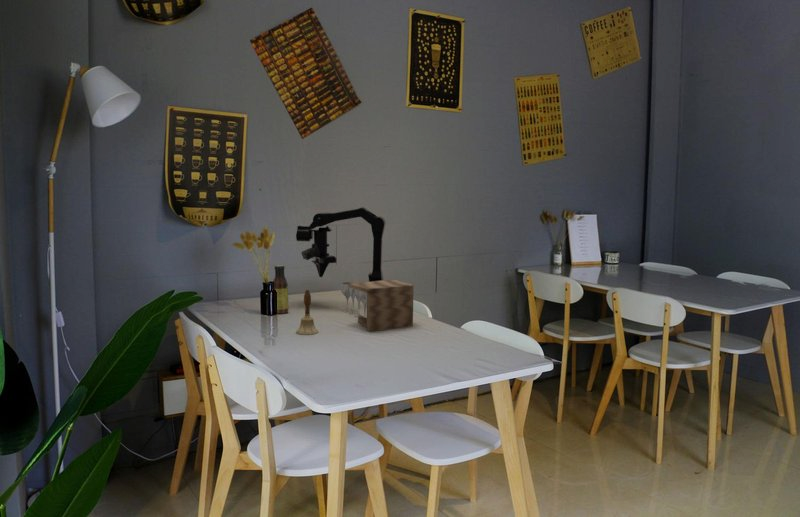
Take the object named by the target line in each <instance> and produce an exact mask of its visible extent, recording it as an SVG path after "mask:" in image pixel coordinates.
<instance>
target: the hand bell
mask: <svg viewBox="0 0 800 517" xmlns="http://www.w3.org/2000/svg"><path fill="white" fill-rule="evenodd" d="M311 303H312V297H311V292H310V289H305V292H304V295H303V304H304V307H305V308H304V316H303V317H301V318H300V324H299V326H298V328H297V329H296V331H295V333H296V334H297V335H302V336H303V335H304V336H312V335H316V334H318V333H319V330H318V329H317V328H316V325H315V323H314V318H313V317H312V316H311V315H310V314H311V313H310V306H311Z"/></svg>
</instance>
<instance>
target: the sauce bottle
mask: <svg viewBox="0 0 800 517" xmlns="http://www.w3.org/2000/svg"><path fill="white" fill-rule="evenodd" d="M274 273H275V274H274V279H273V281H272V283H273V282H274V289H275V290H276V292H277V313H276V314H279V315H280V314H288V312H289V285H288V281H287V279H286V276H285V265H283V264H281V265H278V264H277V265H274Z"/></svg>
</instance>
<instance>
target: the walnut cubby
mask: <svg viewBox="0 0 800 517" xmlns="http://www.w3.org/2000/svg"><path fill="white" fill-rule="evenodd" d="M349 287H350V288H353V289H356V290H359V291H362V292H365V293H367V305H366V316H365V317H363V316H364V315H362V316H358V317H357V323H358V324H360V325H363V326H366V332H367V333H371V332H376V331H384V330H391V329H392V330H393V329H399V328H405V327H412V326H413V325H414V289H415V288H414V285H413V284H410V283H407V282H403V281H401V280H396V279H383V280H382V281H371V282H369V281H363V282H361V281H360V282H350V284H349Z"/></svg>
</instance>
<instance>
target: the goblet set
mask: <svg viewBox="0 0 800 517" xmlns="http://www.w3.org/2000/svg"><path fill="white" fill-rule="evenodd" d="M350 283H351V282H350V281H348V282H346V281H345V282H342V284H341V286H340V292H341V293H342V295H343V296H344V297H345V299H346V306H347V307H346V309H343V310H341V311H342V312H343V313H348V315H354V316H353V317H354V318H358V316H363V317H365V318H366V314H367V293H365V292H362V291H359V290H356V289H353V288H350V287H349V284H350ZM350 298H351V301H352V309H349V299H350ZM355 299H356V301H357V304H358V309H360V304H361V303H362V304H363V307H364V308H363V309H364V313H363V314H364V315H361V314H359V312H355V310H354V309H355V307H354V304H355Z"/></svg>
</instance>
